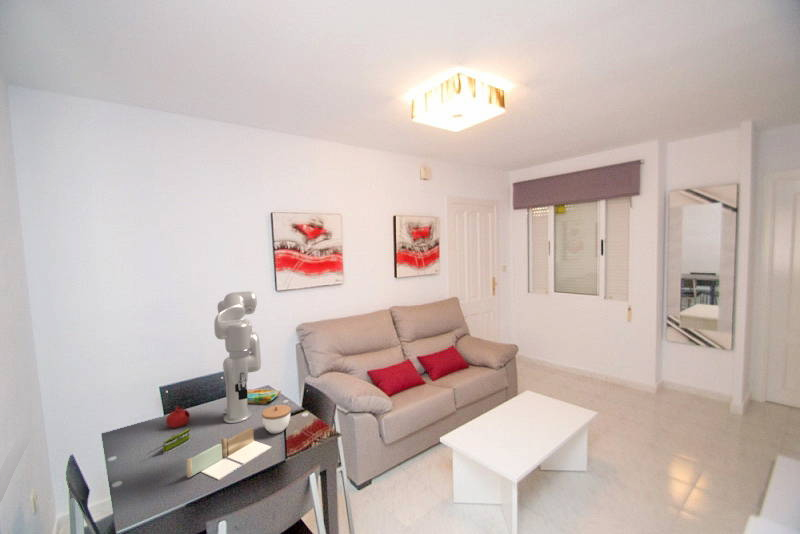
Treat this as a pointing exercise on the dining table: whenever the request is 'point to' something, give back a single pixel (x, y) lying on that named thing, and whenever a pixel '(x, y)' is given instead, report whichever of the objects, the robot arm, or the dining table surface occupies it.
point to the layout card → (235, 460)
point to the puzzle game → (261, 395)
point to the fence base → (236, 442)
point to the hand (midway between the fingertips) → (241, 395)
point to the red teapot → (178, 418)
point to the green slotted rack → (175, 441)
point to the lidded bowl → (276, 418)
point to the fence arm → (204, 460)
